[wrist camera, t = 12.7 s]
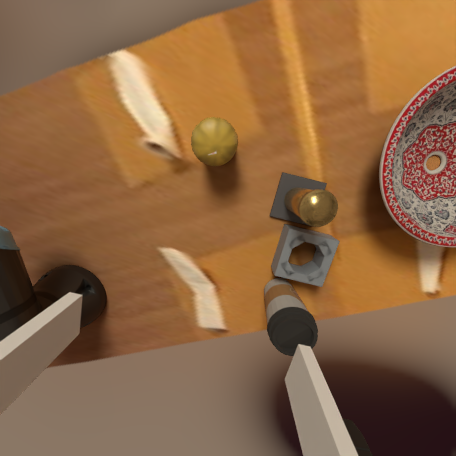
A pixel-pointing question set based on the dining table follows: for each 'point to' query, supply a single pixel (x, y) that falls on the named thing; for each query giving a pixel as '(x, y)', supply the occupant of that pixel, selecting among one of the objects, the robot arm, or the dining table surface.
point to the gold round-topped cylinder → (312, 205)
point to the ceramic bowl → (423, 164)
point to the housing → (312, 270)
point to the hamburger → (214, 141)
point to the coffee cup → (288, 318)
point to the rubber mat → (284, 186)
